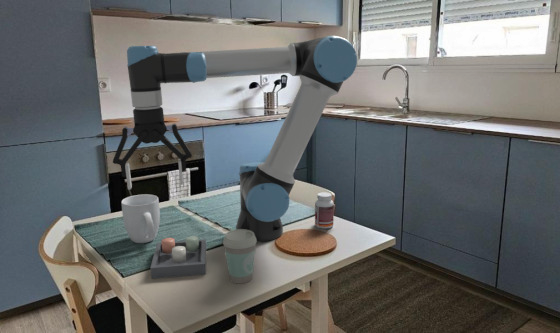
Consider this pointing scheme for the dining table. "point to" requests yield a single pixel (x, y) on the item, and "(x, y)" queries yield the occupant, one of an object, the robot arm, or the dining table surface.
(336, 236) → the dining table surface
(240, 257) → the coffee cup
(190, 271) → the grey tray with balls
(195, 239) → the button sage
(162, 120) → the robot arm
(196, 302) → the dining table surface
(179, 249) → the button ivory
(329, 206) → the pill bottle
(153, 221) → the mug
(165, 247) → the button coral
